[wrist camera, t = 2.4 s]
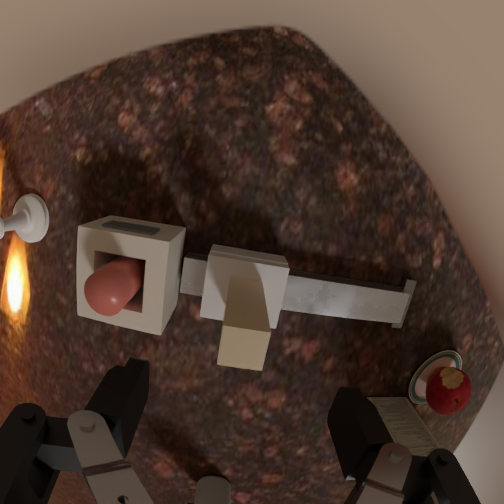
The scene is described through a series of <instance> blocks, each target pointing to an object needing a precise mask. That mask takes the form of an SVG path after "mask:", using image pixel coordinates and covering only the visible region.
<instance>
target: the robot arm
mask: <svg viewBox="0 0 504 504" xmlns="http://www.w3.org/2000/svg"><path fill="white" fill-rule="evenodd" d="M148 393H149V361H148V360H143V359H139V358H135V357H130V358H129V360H128V362H127V364H126V365H125V367H122V366H118V365H116V366H115V367H113V368H112V369H110V370H109V371H108V372H107V373H106V375H105V376H104V378H103V380H102V381H101V383H100V385H99V387H98V388H97V389H96V391H95V393H94V394H93V396H92V398H91V399H90V401H89V403H88V404H87V406H86V408H85V409H84V410H81V411H77V412H75V413H73V414H72V415H71V416H70V417H69V418H57V417H49V416H46V414H45V412H44V410H43V409H42V408H41V407H40V406H38V405H36V404H33V403H23V404H20V405H18V406H16V407H15V408H14V409H13V410H12V412H11V413H10V415H9V416H8V417H7V419H6V420H5V422H4V423H3V425H2V426H1V428H0V504H47V503H48V501H49V498H50V495H51V493H52V490H53V488H54V485H55V483H56V480H57V478H58V475H59V473H60V470H63V471H72V472H82V473H83V474H84V477H85V479H86V481H87V484H88V486H89V488H90V491H91V493H92V495H93V497H94V500H95V502H96V504H154V503H153V502H152V500H151V498H150V497H149V495H148V494H147V492H146V490H145V489H144V487H143V485H142V484H141V482H140V480H139V479H138V477H137V475H136V474H135V472H134V470H133V468H132V467H131V465H130V464H129V463H128V462H125V460H124V459H123V458H126V456H127V453H128V451H129V448H130V445H131V442H132V440H133V437H134V434H135V431H136V429H137V426H138V423H139V421H140V418H141V415H142V413H143V410H144V407H145V405H146V402H147V398H148ZM382 420H383V419H382V418H381V416H380V415H379V412H378V410H377V408H376V406H375V405H374V404H373V403H372V402H371V401H370V400H369V399H368V398H364V397H363V395H362V393H361V391H360V389H359V388H358V387H340V388H339V390H338V392H337V394H336V397H335V399H334V401H333V404H332V406H331V408H330V410H329V413H328V418H327V423H328V427H329V430H330V433H331V437H332V440H333V443H334V446H335V449H336V452H337V456H338V459H339V462H340V465H341V469H342V472H343V475H344V478H345V480H353V479H355V480H356V484H355V486H354V487H353V489H352V491H351V492H350V494H349V496H348V498H347V499H346V501H345V503H344V504H481V503H480V501H479V499H478V497H477V496H476V494H475V492H474V490H473V488H472V486H471V484H470V482H469V480H468V479H467V477H466V475H465V473H464V471H463V470H462V468H461V466H460V464H459V463H458V461H457V459H456V457H455V456H454V455H453V453H451V452H450V451H448V450H446V449H443V448H437V449H434V450H432V451H431V453H430V454H429V455H428V457H426V456H416V455H412V454H411V452H410V451H409V449H408V448H406V447H405V446H404V445H402V444H399V443H394V441H393V439H392V437H391V435H390V433H389V431H388V429H387V427H386V425H385V423H384V421H382ZM187 504H192V503H187Z"/></svg>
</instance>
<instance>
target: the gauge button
mask: <svg viewBox="0 0 504 504" xmlns="http://www.w3.org/2000/svg"><path fill="white" fill-rule="evenodd" d="M144 277H145V263H144V262H143V260H142V259H138V258H133V257H127V256H122V255H119V256H118V257H116V258H115V259H113V260H112V261H110V262H109V263H107V264H106V265H104V266H103V267H102V268H100V269H99V270H97V271H96V272H94V273H93V274H91V275H90V276H89V277H88V278H87V280H86V282H85V285H84V295H85V298H86V301H87V303H88V304H89V306H90V307H91V308H92V309H93V310H94V311H95V312H97V313H99V314H101V315H104V316H113V315H116V314H118V313H119V312H120V311H121V310H122V309H123V307H124V306H125V305H126V304H127V303H128V302H129V301H130V299H131V298H132V297H133V296H134V295H135V294H136V293H137V292H138V290H139V289H140V288H141V287H142V286H143V285H144Z"/></svg>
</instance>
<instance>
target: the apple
mask: <svg viewBox="0 0 504 504" xmlns="http://www.w3.org/2000/svg"><path fill="white" fill-rule="evenodd" d="M461 367H462V360H461V357H460V355H459V354H458V353H457V352H455V351H452V350H446V351H442V352H439V353H437V354H435V355H433V356H432V357H430V358H429V359H428V360H426V361H425V362H424V363H423V364H422V365H421V366H420V367H419V368H418V370H417V371H416V372H415V374H414V376H413V377H412V379H411V382H410V384H409V390H408V393H409V397H410V399H411V400H412V401H413V402H414V403H417V404H427V403H428V404H429V406H430V407H431V408H432V409H433V410H434V411H436V412H437V413H439V414H442V415H447V414H452V413H455V412H457V411H458V410H460V409H461V408H462V407H463V406H464V405H465V404H466V403H467V402H468V400H469V398H470V395H471V390H472V388H471V382H470V379H469V377H468V376H467V375H466V374H465V373H464V372H463V371H462V370H461Z"/></svg>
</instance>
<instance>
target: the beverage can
mask: <svg viewBox="0 0 504 504" xmlns="http://www.w3.org/2000/svg"><path fill="white" fill-rule="evenodd" d="M194 504H231V485H230V483H229V482H228V481H227V480H226V479H224V478H222V477H219V476H205V477H202V478H201V479H200V480H199V481H198V482H197V486H196V494H195V501H194Z"/></svg>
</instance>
